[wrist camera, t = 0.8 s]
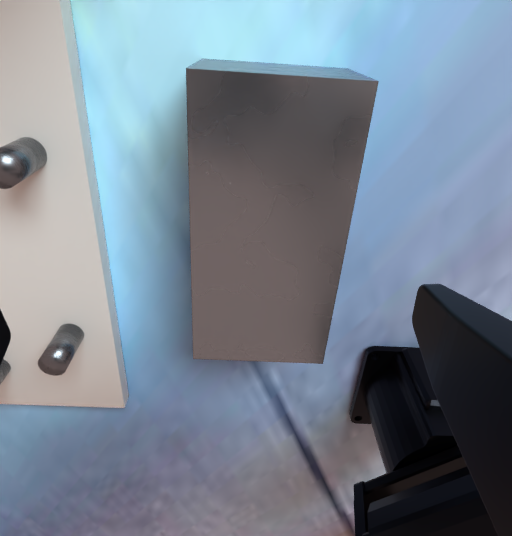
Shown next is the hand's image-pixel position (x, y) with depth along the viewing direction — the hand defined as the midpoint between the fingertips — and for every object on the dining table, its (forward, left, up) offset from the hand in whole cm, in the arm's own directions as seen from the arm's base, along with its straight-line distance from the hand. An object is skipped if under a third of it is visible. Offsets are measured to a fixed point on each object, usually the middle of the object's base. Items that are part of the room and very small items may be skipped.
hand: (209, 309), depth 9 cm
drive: (-2, -2, -12) cm, 12 cm away
